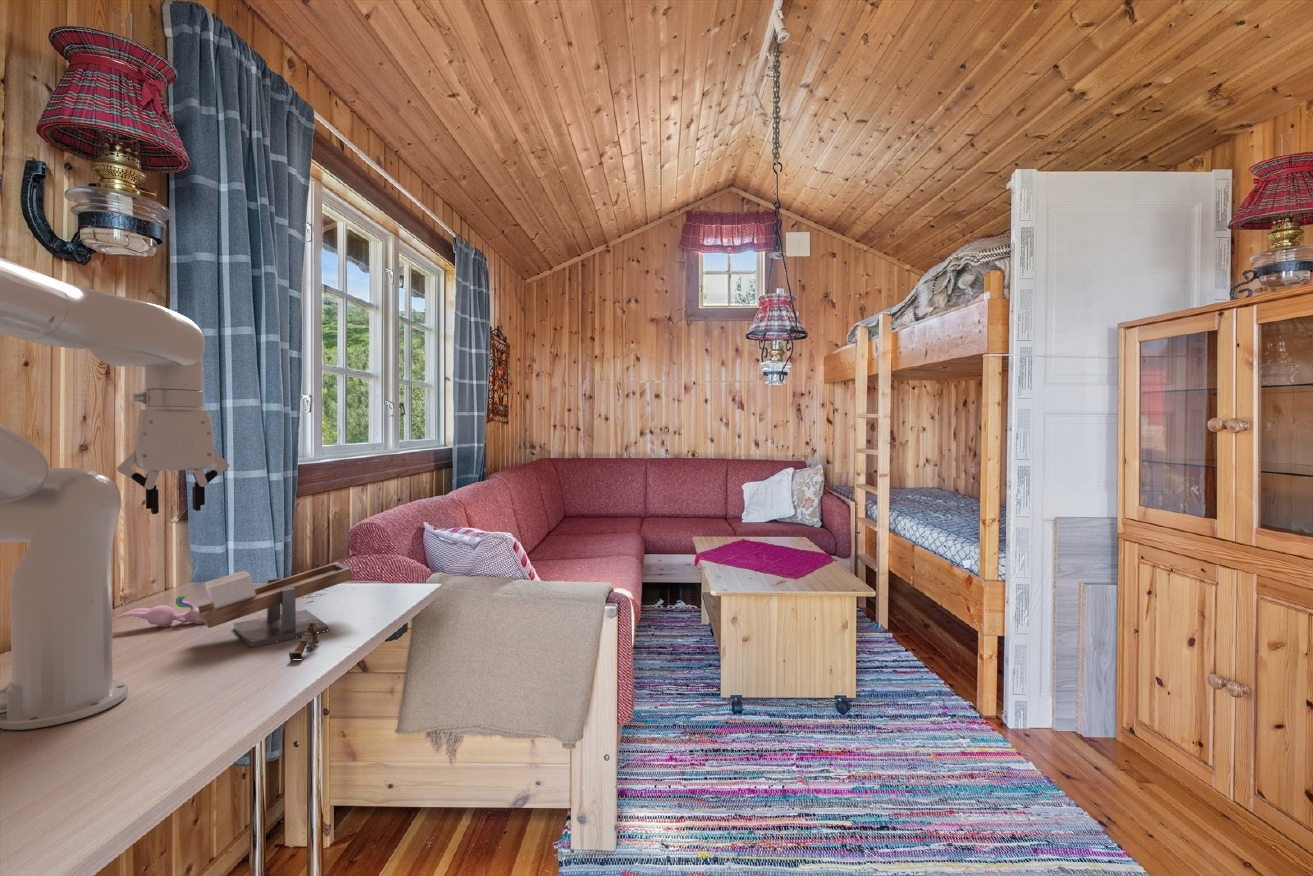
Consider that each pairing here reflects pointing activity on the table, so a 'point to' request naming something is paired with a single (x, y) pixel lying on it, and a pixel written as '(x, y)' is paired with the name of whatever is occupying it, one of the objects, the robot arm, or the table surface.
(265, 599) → the balance beam
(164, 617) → the pink animal figure
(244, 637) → the pivot stand
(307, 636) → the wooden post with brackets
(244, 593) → the white block
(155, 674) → the table surface
